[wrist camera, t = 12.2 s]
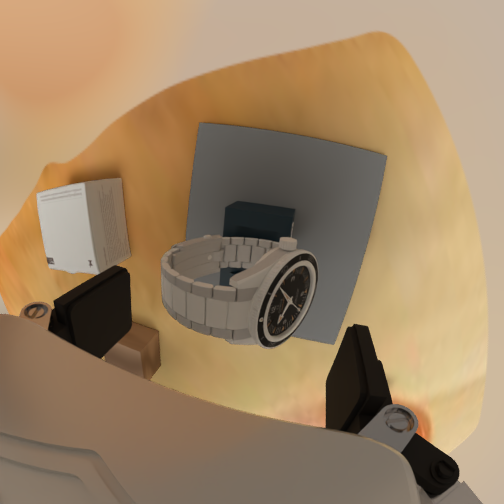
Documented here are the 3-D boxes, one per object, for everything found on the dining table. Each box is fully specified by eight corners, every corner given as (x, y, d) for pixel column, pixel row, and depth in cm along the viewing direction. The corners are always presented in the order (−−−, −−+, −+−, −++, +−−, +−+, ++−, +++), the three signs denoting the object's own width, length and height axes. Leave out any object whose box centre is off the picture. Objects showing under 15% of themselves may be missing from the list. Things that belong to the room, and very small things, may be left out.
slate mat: (333, 340, 23) (333, 344, 23) (184, 304, 25) (181, 307, 25) (385, 156, 18) (387, 155, 17) (202, 123, 20) (199, 122, 19)
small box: (123, 175, 23) (85, 181, 18) (133, 257, 25) (100, 277, 21) (70, 184, 25) (34, 192, 20) (80, 254, 27) (48, 271, 22)
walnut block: (161, 364, 29) (145, 386, 25) (125, 350, 30) (107, 369, 26) (159, 330, 27) (140, 352, 24) (120, 316, 28) (100, 335, 24)
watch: (309, 283, 22) (301, 382, 11) (210, 265, 23) (138, 341, 13) (322, 212, 20) (332, 266, 10) (215, 196, 21) (129, 231, 11)
